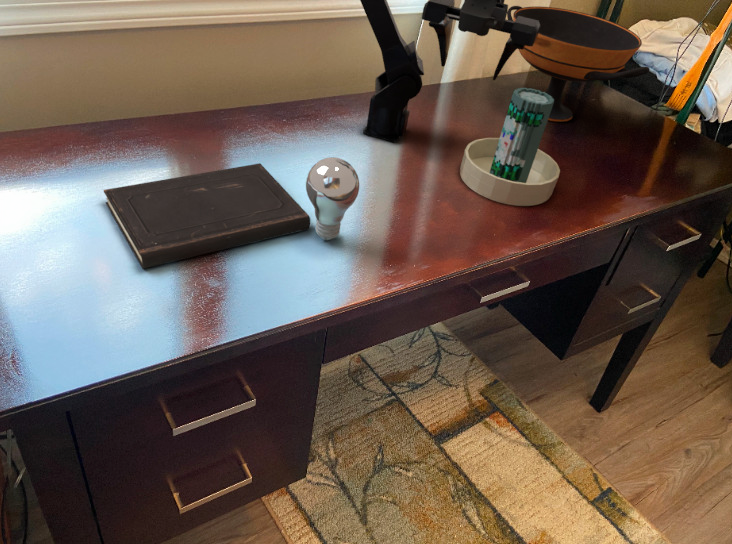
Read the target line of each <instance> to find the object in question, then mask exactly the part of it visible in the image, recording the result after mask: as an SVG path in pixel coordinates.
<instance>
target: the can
mask: <svg viewBox="0 0 732 544" xmlns="http://www.w3.org/2000/svg"><path fill="white" fill-rule="evenodd" d="M511 95H512V96H511V99H510V101H509V102H510V103H509V106H508V109H507V111H506V116H505V119H504V123H503V126H502V129H501V132H500V135H499V138H500V139H499V142H498V145H497V149H496V152H495V156H494V159H493V162H492V166H491V169H490V172H489V173H490V174H492V175H494V176H497V177H499V178H503V179H506V180H510V181H514V182H521V183H526V182H527V179H528V176H529V173H530V170H531V167H532V164H533V161H534V159H535V156H536V153H537V150H538V149H539V147H540V144H541V141H542V139H543V135H544V133H545V129H546V128H547V123H548V121H549V120H548V118H549V115H550V112H551V110H552V107H553V104H554V99H553V98H552V96H550V95H548V94H547V93H546V91H541V90H539V89H536V88H531V87H530V88H527V87H520V88H519V87H518V88H516V89H513V92H512V94H511Z"/></svg>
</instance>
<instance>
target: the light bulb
mask: <svg viewBox="0 0 732 544" xmlns="http://www.w3.org/2000/svg"><path fill="white" fill-rule="evenodd" d="M305 191H306V196H307V197H308V200H309V201H310V203H311V205H312V206H313V209H314V215H315V216H314V217H315V222H316V223H315V229H314V230H315V232H316V234H317V236H318V237H320V238H321V239H322V240H324V241H331V240H333V239H335V238H337V237H338V236H339V234H340V232H341V224H342V223H341V222H342V221H343V220H344V217H345V214H346V212H347V211H348V209H350V208H351V207H352V206H353V204H354V203H355V201H356V199H357V198H358V195H359V192H360V179H359V175H358V173H357V171H356V170H355V168H354V166H352V165H351V164H350V163H349V162H348V161H347V160H345V159H343V158H339V157H334V156H333V157H325V158H323V159H321V160H318V161H317V162H315V164H313V165H312V167H311V168H310V169H309V171H308V173H307V176H306V180H305Z"/></svg>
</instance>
